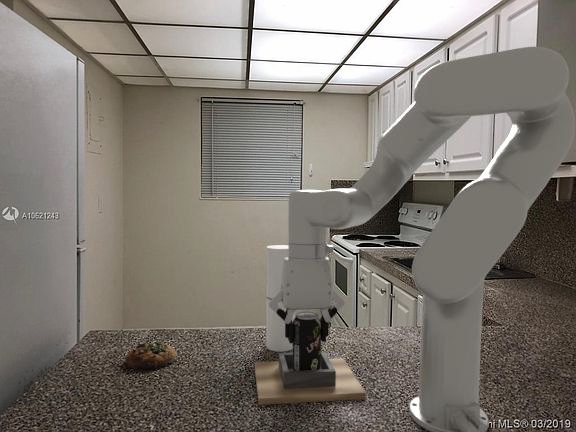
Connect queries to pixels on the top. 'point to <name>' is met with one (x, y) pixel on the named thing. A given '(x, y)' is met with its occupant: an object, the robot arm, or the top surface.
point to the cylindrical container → (274, 279)
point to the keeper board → (305, 381)
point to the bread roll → (150, 356)
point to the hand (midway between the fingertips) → (306, 339)
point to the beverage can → (306, 342)
